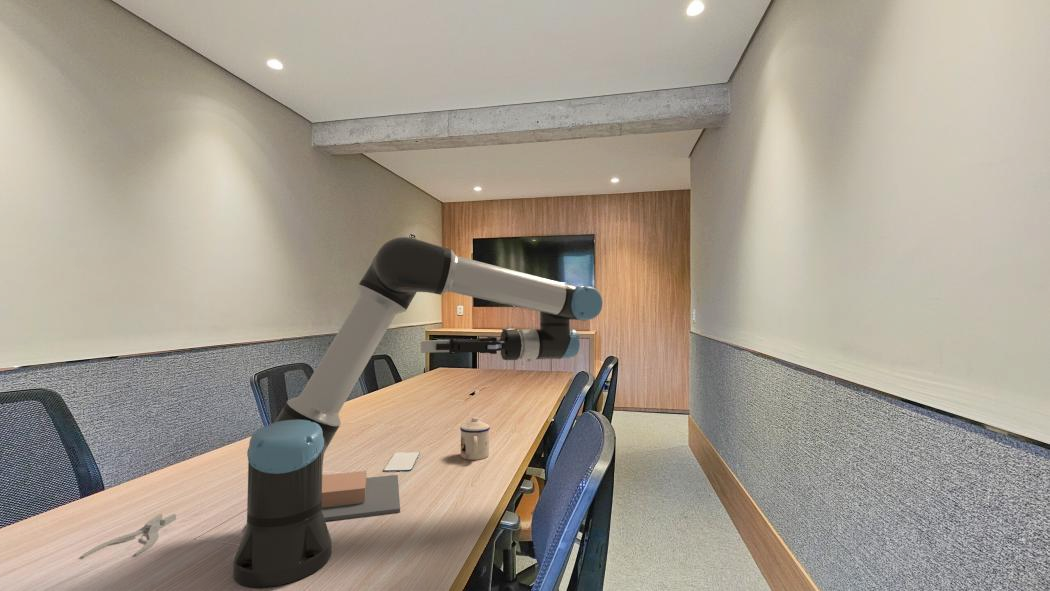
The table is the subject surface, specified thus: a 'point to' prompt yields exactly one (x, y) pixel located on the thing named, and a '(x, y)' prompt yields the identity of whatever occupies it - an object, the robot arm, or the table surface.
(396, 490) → the rubber mat
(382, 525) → the table surface
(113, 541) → the pliers
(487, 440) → the teacup with lid
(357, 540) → the table surface
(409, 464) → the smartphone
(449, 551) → the table surface
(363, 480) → the light wooden block
